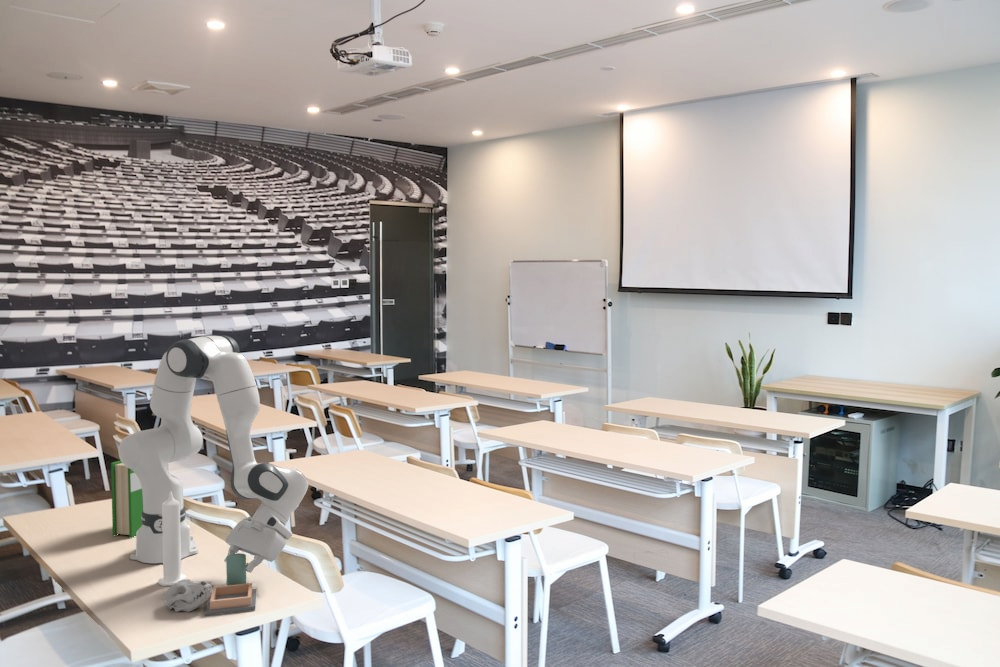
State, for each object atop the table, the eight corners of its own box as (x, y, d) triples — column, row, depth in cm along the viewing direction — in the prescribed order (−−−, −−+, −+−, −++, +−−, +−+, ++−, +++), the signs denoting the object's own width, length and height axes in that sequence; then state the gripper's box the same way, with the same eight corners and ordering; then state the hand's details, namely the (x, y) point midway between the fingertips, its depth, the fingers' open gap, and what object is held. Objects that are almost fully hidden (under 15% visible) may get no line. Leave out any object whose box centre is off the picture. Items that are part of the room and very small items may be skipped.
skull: (172, 589, 193) (203, 560, 191) (192, 617, 191) (223, 588, 189) (151, 599, 185) (183, 569, 183) (172, 628, 183) (204, 598, 182)
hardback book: (131, 538, 240) (130, 464, 239) (112, 536, 242) (110, 463, 241) (169, 521, 257) (168, 453, 256) (151, 520, 259) (149, 451, 258)
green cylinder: (227, 583, 203) (226, 554, 203) (246, 581, 205) (246, 552, 204) (226, 590, 199) (225, 560, 198) (245, 588, 200) (245, 558, 200)
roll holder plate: (209, 597, 194) (209, 585, 194) (256, 592, 197) (256, 581, 197) (205, 615, 183) (205, 603, 183) (255, 610, 186) (255, 598, 186)
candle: (176, 587, 200) (174, 495, 199) (152, 585, 202) (150, 494, 200) (191, 577, 207) (190, 488, 206) (169, 575, 209) (167, 487, 207)
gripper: (239, 509, 213) (208, 552, 206) (282, 523, 201) (250, 569, 193) (253, 521, 217) (223, 564, 210) (296, 535, 204) (266, 581, 197)
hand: (236, 567), depth 201 cm, fingers open, 8 cm apart
